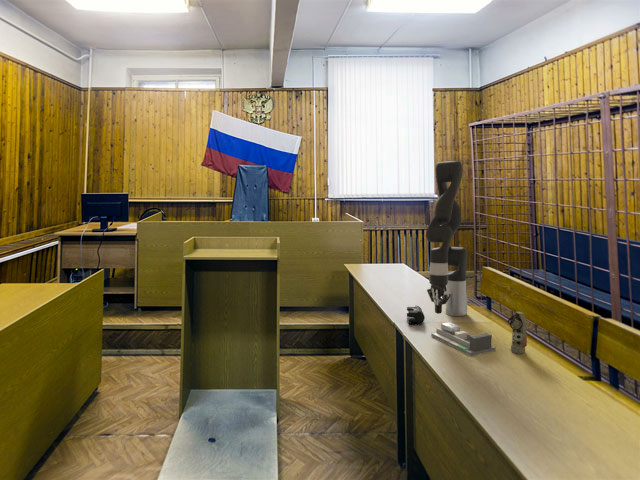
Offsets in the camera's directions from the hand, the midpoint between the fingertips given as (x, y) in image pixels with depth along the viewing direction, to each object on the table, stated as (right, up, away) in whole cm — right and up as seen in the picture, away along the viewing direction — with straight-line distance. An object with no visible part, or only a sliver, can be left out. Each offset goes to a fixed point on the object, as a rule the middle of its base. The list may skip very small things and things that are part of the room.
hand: (438, 313), depth 158 cm
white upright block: (+5, -8, -11) cm, 15 cm away
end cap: (-6, -7, +15) cm, 18 cm away
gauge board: (+5, -9, -12) cm, 16 cm away
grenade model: (+21, -10, -23) cm, 33 cm away
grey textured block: (+3, -8, -7) cm, 11 cm away
